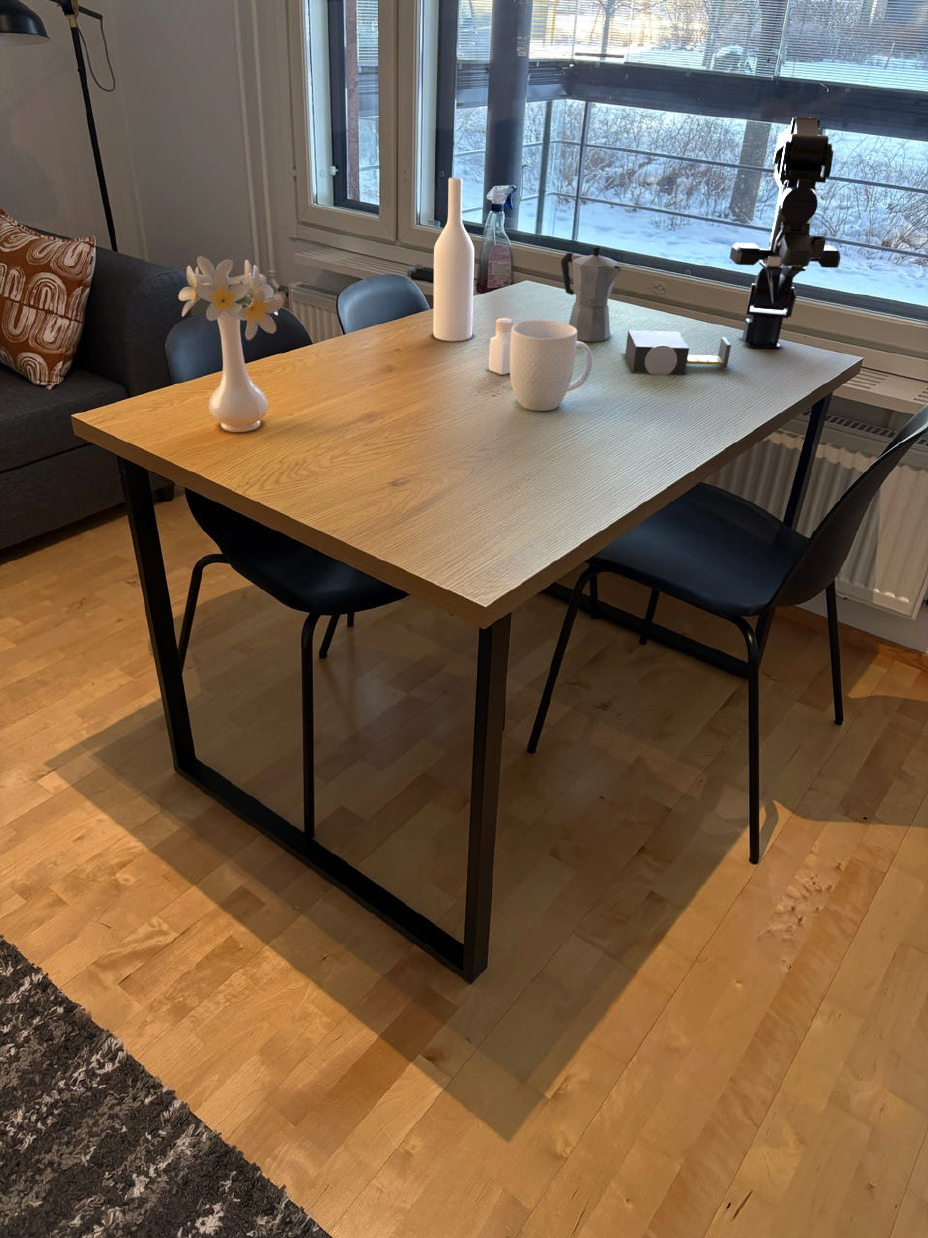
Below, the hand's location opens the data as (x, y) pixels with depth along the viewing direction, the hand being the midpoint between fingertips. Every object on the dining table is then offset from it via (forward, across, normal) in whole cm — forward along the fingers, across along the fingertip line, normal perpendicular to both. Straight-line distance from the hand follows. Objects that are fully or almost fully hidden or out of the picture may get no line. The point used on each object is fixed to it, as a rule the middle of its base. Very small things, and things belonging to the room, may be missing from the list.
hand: (774, 303), depth 171 cm
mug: (+12, -44, -24) cm, 52 cm away
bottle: (+12, -61, +15) cm, 64 cm away
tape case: (+12, -21, 0) cm, 24 cm away
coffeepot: (+12, -33, +19) cm, 40 cm away
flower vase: (+12, -93, -38) cm, 101 cm away
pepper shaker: (+12, -51, -7) cm, 53 cm away
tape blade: (+12, -12, 0) cm, 17 cm away
